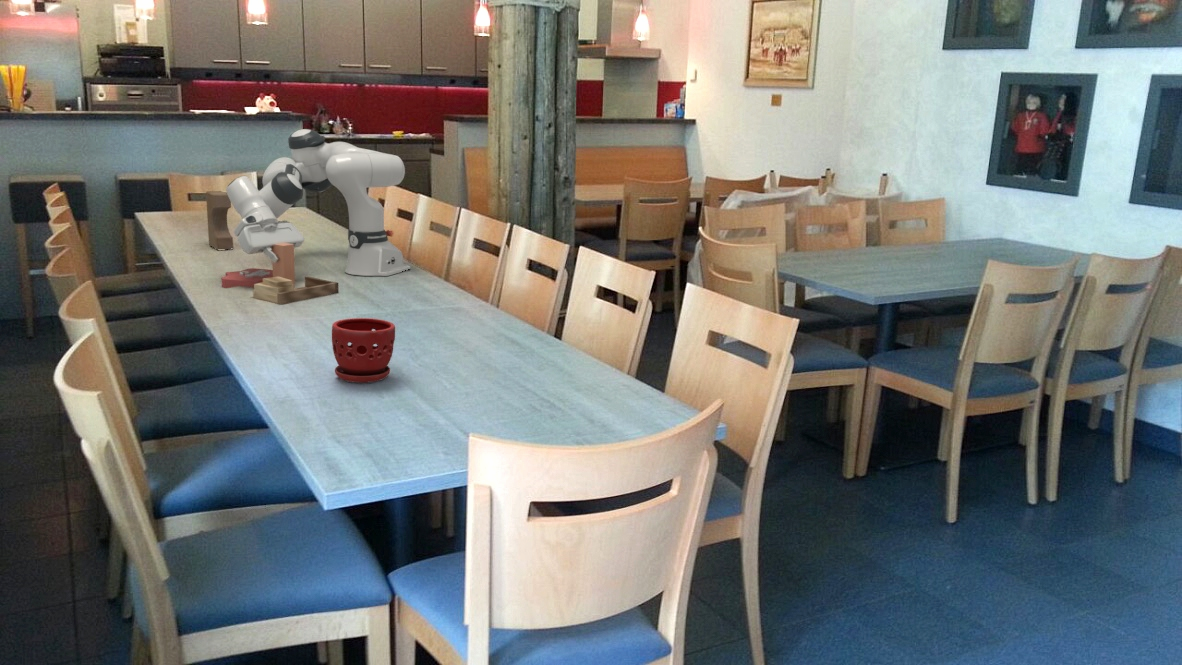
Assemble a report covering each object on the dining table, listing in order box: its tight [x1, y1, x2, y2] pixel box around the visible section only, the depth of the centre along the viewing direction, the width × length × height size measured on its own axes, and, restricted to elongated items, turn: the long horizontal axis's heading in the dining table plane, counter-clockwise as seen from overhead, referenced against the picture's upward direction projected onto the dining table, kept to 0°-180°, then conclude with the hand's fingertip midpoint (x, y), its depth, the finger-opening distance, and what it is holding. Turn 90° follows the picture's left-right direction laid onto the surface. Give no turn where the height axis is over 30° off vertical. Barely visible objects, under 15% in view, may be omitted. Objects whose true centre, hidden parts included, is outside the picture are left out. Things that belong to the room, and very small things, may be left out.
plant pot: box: [331, 317, 396, 384], centre depth 201 cm, size 13×13×12 cm
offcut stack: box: [252, 277, 295, 304], centre depth 263 cm, size 7×11×6 cm, turn 57°
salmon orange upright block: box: [271, 243, 296, 285], centre depth 278 cm, size 4×5×12 cm
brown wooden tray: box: [249, 276, 340, 305], centre depth 269 cm, size 21×13×4 cm, turn 147°
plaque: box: [221, 267, 273, 289], centre depth 286 cm, size 18×4×15 cm
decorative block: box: [205, 190, 234, 250], centre depth 338 cm, size 11×6×20 cm, turn 36°
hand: (284, 260), depth 277 cm, fingers closed on salmon orange upright block, 4 cm apart
